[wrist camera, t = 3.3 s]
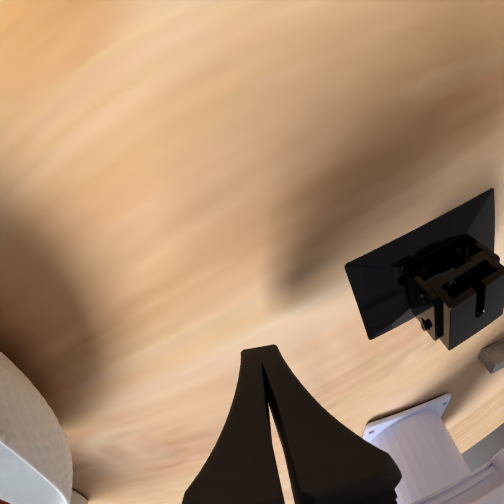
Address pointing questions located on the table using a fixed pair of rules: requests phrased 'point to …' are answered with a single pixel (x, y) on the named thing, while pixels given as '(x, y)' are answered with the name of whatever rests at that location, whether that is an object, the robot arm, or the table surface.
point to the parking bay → (493, 356)
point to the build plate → (434, 276)
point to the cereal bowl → (30, 444)
